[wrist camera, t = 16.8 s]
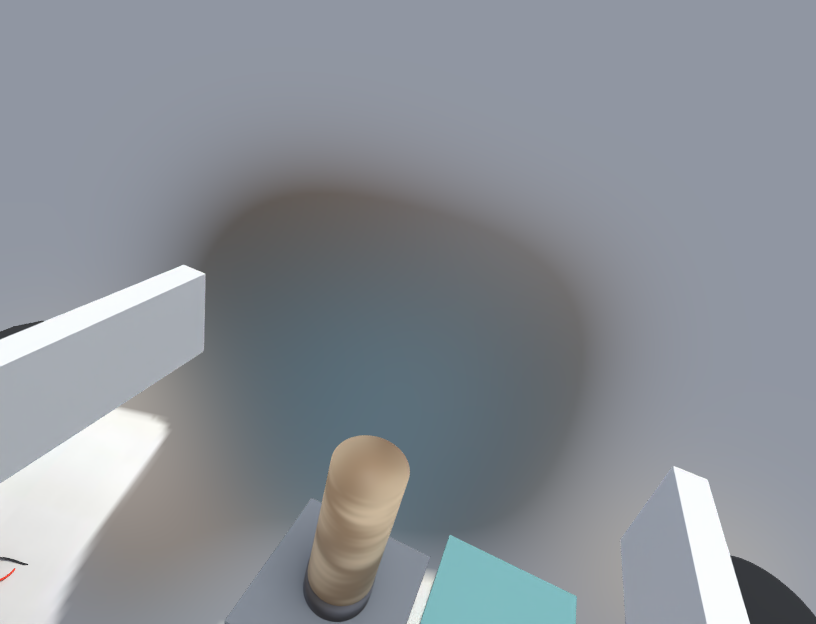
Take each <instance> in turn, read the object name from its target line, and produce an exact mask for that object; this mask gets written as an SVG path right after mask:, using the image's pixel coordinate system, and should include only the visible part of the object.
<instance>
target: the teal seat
mask: <svg viewBox="0 0 816 624" xmlns="http://www.w3.org/2000/svg"><path fill="white" fill-rule="evenodd" d="M576 600H577V597H576V596H575V595H573V594H571V593H568V592H567V591H565V590H562V589H560V588H558V587H556V586H554V585H552V584H550V583H548V582H546V581H544V580H542V579H540V578H538V577H536V576H534V575H531V574H529V573H527V572H525V571H523V570H521V569H519V568H517V567H515V566H513V565H511V564H509V563H506V562H505V561H503V560H501V559H499V558H496V557H494V556H492V555H490V554H488V553H486V552H484V551H482V550H480V549H478V548H476V547H474V546H472V545H470V544H468V543H465V542H463V541H461V540H459V539H457V538H455V537H453V536H451V535H450V536H449V538H448V541H447V544H446V547H445V550H444V553H443V556H442V559H441V563H440V566H439V568H438V571H437V574H436V577H435V580H434V583H433V586H432V589H431V592H430V595H429V598H428V601H427V604H426V607H425V610H424V613H423V616H422V619H421V622H420V624H576Z"/></svg>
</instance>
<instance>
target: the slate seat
mask: <svg viewBox="0 0 816 624" xmlns="http://www.w3.org/2000/svg"><path fill="white" fill-rule="evenodd" d="M321 505H322V503H321V502H319V501H317V500H315V499H313V498H311V500H310V501H309V502H308V504H307V505H306V506H305V508H304V509H303V511H302V512H301V514H300V515H299V516H298V518H297V519H296V521H295V522H294V524H293V525H292V526H291V528H290V529H289V530H288V532H287V533H286V535H285V536H284V538H283V539H282V541H281V542H280V543H279V545H278V546H277V547H276V549H275V550H274V552H273V553H272V554H271V556H270V557H269V559H268V560H267V562H266V563H265V564H264V566H263V567H262V569H261V570H260V572H259V573H258V574H257V576H256V577H255V579H254V580H253V581H252V583H251V584H250V586H249V587H248V588H247V590H246V591H245V593H244V594H243V595H242V597H241V598H240V600H239V601H238V603H237V604H236V605H235V607H234V608H233V610H232V611H231V612H230V614H229V615H228V617H227V618H226V620H225V624H406V623H407V621H408V618H409V615H410V612H411V609H412V607H413V604H414V601H415V598H416V595H417V593H418V590H419V587H420V584H421V581H422V579H423V576H424V573H425V570H426V567H427V565H428V562H429V559H430V557H429V556H427V555H425V554H423V553H421V552H419V551H417V550H415V549H413V548H411V547H409V546H407V545H405V544H403V543H401V542H399V541H397V540H395V539H393V538H391V537H389V538H388V541H387V544H386V547H385V550H384V553H383V556H382V558H381V561H380V564H379V567H378V570H377V573H376V577H375V583H374V586H373V589H372V592H371V595H370V598H369V600H368V603H367V605H366V606H365V608H364V609H363V610H362V611H361V612H360V613H359V614H358V615H357V616H355V617H354V618H352V619H350V620H347V621H343V622H331V621H327V620H324V619H322V618H320V617H319V616H317V615H316V614H315V613H314V612H313V611H312V610H311V609H310V608H309V606H308V605H307V603H306V600H305V597H304V593H303V583H304V578H305V573H306V568H307V564H308V561H309V558H310V556H311V551H312V546H313V542H314V537H315V532H316V528H317V523H318V518H319V514H320V509H321Z"/></svg>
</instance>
